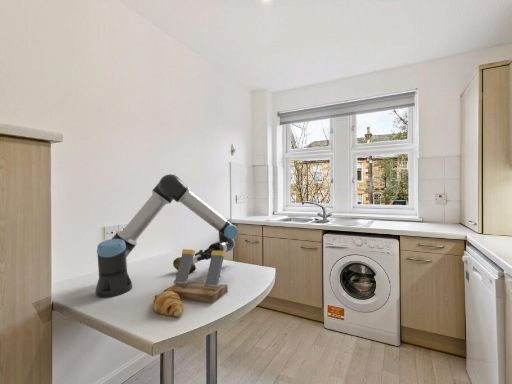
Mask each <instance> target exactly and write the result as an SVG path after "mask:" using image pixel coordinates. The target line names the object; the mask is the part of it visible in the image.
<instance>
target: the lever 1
mask: <svg viewBox="0 0 512 384" xmlns="http://www.w3.org/2000/svg"><path fill="white" fill-rule="evenodd" d="M195 254H196V250H194V249H186V248H185V249H182V251H181V256H180V257H181V260H180V264H179V268H178V270H177V272H176V275H175V279H174V280H173V285H175V284H181V285H187V284H188V281H189V280H188V279H189V275H190V273H189V272H190V268H191V264H192V260H193V257H194V256H195Z"/></svg>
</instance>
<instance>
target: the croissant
mask: <svg viewBox="0 0 512 384" xmlns="http://www.w3.org/2000/svg"><path fill="white" fill-rule="evenodd" d="M152 303H153V304H152V305H153V307H152V308H153V310H154V312H155V313H158V314H160V315H166V316H171V317H172V316H173V317H181V316H182V315H183V312H184V302H183V301H182V299H180V297H179V295H178V294H177V293H175V292H173V291H168V290H167V291H165V292H164V291H163V292H162V293H161V292H160V293H158V294H155V295H154V299H153V302H152Z"/></svg>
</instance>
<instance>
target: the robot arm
mask: <svg viewBox="0 0 512 384" xmlns="http://www.w3.org/2000/svg"><path fill="white" fill-rule="evenodd" d="M151 191H152V193H151V194H152V195H151V196H150V197H149V198H148V200H147V201H145V203H144V204H143V205H142V207H140V209H139V210H138V212H137V213H136V214H134V216H133V217H132V219H131V220H130V221H129V222H128V223H127V224H126V226H125V227H124V228H123V229H122V230H121V231H120V230H119V231H117V232H116V233H115V234H114V235H113V236H112V238H111V239H107V240H104V241H101V242H100V243H98V244H97V248H96V249H97V250H96V253H97V266H98V280H97V283H96V286H95V296H96V297H97V296H99V297H98V298H110V297H111V298H112V297H115V296H119V295H123V294H125V293H127V292H129V291H131V290H132V289H133V282H132V280H131V277H130V276H129V273H128V265H127V257H128V256H129V255H130V253H131V252H132V251H133V250H134V249H135V247H136V246H137V245H138V244H137V240H138V239H139V238H140V236H141V235H142V234H143V233H144V231H146V229H148V227H149V226H150V224H151V223H152V222H153V220H154V219H155V218H156V217H157V216H158V214H159V213H160V212H161V211H162V210H163V208H164V207H165V206H166V205H168V204H171V203H172V202H173V201H175V202H177V203H181V204H182V205H184V207H186V208H188V209H189V211H191V212H192V213H194V214H195V215H196V216H198V217H199V218H200V219H202V221H204V222H206V223H207V224H208V225H210V226H211V227H212V228H214V230H216V231H218V241H216V242H214V243H212V244H210V245H209V246H208V248H206V249H205V250H203V249H200V250H199V251H198V252H195V254H194V256H193V260H192V264H195V265H196V264H197V263H199V262H201V261H204V260H207V261H208V260H211V256H212V255H211V253H212V251H224V252H225V254H226V253H228V252H231V251H232V250H233V249H234V248H235V246H236V241H235V239H236V238H237V236H238V235H239V229H238V228H239V227H237V226H236V225H235V224H233V223H232V221H231V218H230V217H229V218H227V217H226V218H225V217H224V216H222V214H220V213H218V212H217V211H216V210H215V209H214V208H213V207H211V206H210V205H209V204H207V203H206V202H205V201H203V200H202V199H201V198H200V197H198V196H197V195H196V194H195V193H194V192H192V191H191V189H190V187H189V186H188V185H187V184H185V183H184V182H183V180H181V179H180V177H179V176H178V175H175V174H165V175H164V176H162V177H161V179H160V180H159V181H158V183H157V184H156V186H155V187H154V188H153V189H152V190H151Z"/></svg>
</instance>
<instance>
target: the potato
mask: <svg viewBox="0 0 512 384" xmlns="http://www.w3.org/2000/svg"><path fill="white" fill-rule="evenodd" d="M181 257H182V256H180V257H177V258H175V259H173V263H172V264H173V267H174V269H176V271H178V268H179V264H180V260H181ZM196 270H197V267H196V263H195V264H191V268H190V272H189V274H190V273H193V272H195V271H196Z"/></svg>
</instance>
